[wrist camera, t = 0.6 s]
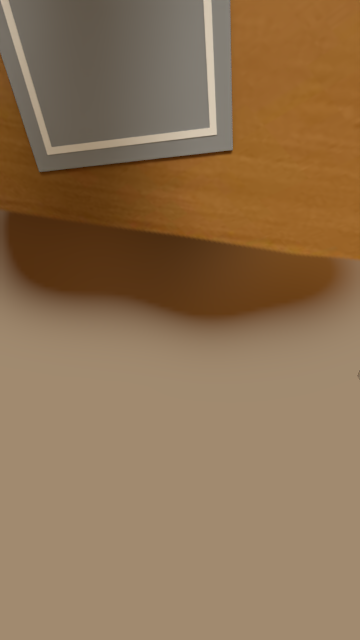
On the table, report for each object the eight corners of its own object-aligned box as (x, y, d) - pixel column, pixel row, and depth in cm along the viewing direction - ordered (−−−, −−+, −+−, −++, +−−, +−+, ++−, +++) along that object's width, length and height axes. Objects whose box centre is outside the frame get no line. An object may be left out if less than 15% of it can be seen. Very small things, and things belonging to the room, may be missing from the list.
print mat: (-58, -133, 22) (-62, -136, 22) (226, -198, 20) (226, -204, 19) (40, 171, 32) (38, 172, 32) (232, 149, 30) (232, 150, 30)
